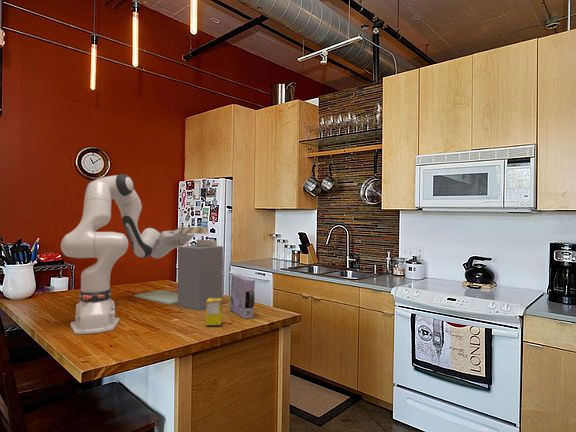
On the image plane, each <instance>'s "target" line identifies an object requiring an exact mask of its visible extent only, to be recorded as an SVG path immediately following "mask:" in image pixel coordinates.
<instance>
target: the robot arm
mask: <svg viewBox="0 0 576 432" xmlns="http://www.w3.org/2000/svg"><path fill="white" fill-rule="evenodd" d="M134 186H135V183H134V181H133V179H132V177H131V176H130V175H127V174H124V173H122V174H121V173H119V174H117V175H115V174H114V175H109V176H103V177H101V178H98V179H93V180H91V181H89V182H87V184H86V186H85V192H84V193H85V194H84V200H83V209H82V210H83V212H82V214H81V215H82V216H81V220H80V222H79V224H78V225H77V226H76V227H75V228H73V230H72V231H70V232H68V233H67V234H65V235H64V237H63V238H62V239H61V242H60V250H61V252H62V254H63V255H64V256H65V257H69V258H74V259H88V258H89V259H90V258H91V259H92V258H93V259H94V258H95V259H97V261H96V262H95V263H94V264H92V265H90V266H88V267H86V268H84V269H83V270H82V271H81V274H80V291H79V302H78V303H76V305H75V315H74V319H75V321H71V322H70V324H69V325H70V328H71V330H72V331H73V334H75V335H87V334H98V333H105V332H110V331H113V330H114V329H115V328H116V327H117V325H118V323H119V322H120V318H119V317H116V311H115V310H116V306H115V301H114V300H113V299H112V298H111V297H112V289H111V288H110V287H111V273H112V269H113V267H114V265H115V264H116V262H117V261H118V260H119V259H120V258H121V257H122V256H124V255H125V254H126V253H127V251H128V248H129V242H130V245H131V251H132V253H133V254H134V255H135V256H136V257H138V258H140V259H147V258H149V257H152V258H153V259H161V258H163V257H164V256H166V255H168V254H169V253H170V252H171V251H173V250H174V249H177V248H178V247H182V246H186V244H187V242H189V241H191V240H192V239H193V238H194V237H195V233H179V232H182V231H183V229H182V228H179V229H178V228H177V229H175V230H164V231H161V232H160V231H159V230H158V229H156V228H154V227H147V228H144V229H143V231H142V232H140V230H139V227H138V226H139V225H138V222H139V217H140V214H141V212H142V210H143V209H142V208H143V205H142V201H141V199H140V197H139V195H138V193H137V191H136V190H135V189H134ZM112 200H114V202H115V204H116V205H117V207H118V210H119V212H120V216H121V222H122V226H123V228H124V230H125V233H126V234H125V233H121V232H117V231H97V230H98V229H100V228H103V227H104V226H105V227H106V225H108V224H109V222H110V221H111V219H112ZM126 235H127V236H126ZM127 237H128V238H127ZM128 239H129V240H128Z"/></svg>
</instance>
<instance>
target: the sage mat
mask: <svg viewBox="0 0 576 432" xmlns="http://www.w3.org/2000/svg"><path fill="white" fill-rule="evenodd" d="M134 297H135V298H138V299H142V300H147V301H152V302H156V303H161V304H165V305H170V306H172V305H178V292H174V291H170V290H169V291H168V290H164V289H158V290H154V291H148V292H144V293H138V294H134Z"/></svg>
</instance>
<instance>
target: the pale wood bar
mask: <svg viewBox="0 0 576 432" xmlns="http://www.w3.org/2000/svg"><path fill="white" fill-rule="evenodd" d="M217 244H218V241H217V240H214V239H213V240H212V239H211V240H210V239H196V245H197V246H209V247H216V246H218V245H217Z"/></svg>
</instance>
